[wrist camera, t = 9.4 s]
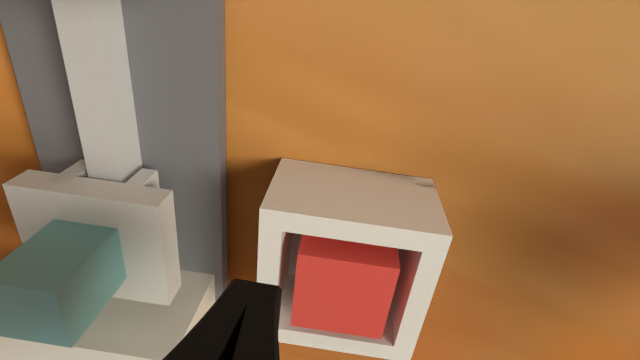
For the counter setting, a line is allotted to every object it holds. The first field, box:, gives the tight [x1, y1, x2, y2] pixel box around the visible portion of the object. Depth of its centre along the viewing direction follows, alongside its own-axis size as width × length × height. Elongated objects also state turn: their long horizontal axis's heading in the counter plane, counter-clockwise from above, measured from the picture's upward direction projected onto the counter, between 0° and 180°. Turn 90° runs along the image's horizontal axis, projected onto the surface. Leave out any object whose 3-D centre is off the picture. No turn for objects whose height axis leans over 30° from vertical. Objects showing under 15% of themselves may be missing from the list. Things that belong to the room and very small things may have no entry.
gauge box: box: [257, 158, 453, 360], centre depth 20 cm, size 8×8×5 cm
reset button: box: [290, 234, 400, 339], centre depth 19 cm, size 4×4×4 cm
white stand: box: [0, 0, 228, 360], centre depth 17 cm, size 24×10×7 cm, turn 174°
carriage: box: [0, 159, 181, 348], centre depth 17 cm, size 6×7×7 cm
